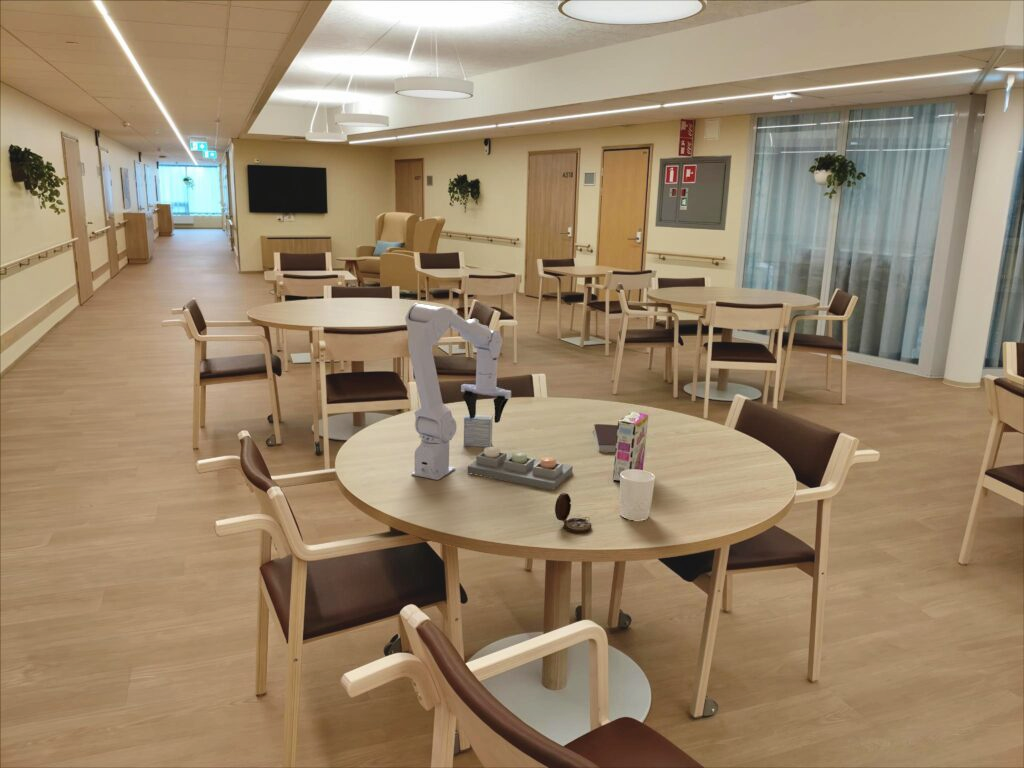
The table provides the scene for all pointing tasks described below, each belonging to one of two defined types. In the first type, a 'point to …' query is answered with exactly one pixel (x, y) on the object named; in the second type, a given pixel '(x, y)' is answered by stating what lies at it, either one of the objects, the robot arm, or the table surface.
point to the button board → (520, 471)
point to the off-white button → (491, 452)
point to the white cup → (636, 493)
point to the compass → (563, 512)
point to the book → (605, 437)
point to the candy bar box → (630, 443)
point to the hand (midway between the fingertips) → (484, 419)
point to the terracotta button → (548, 463)
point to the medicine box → (478, 430)
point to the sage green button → (519, 457)
